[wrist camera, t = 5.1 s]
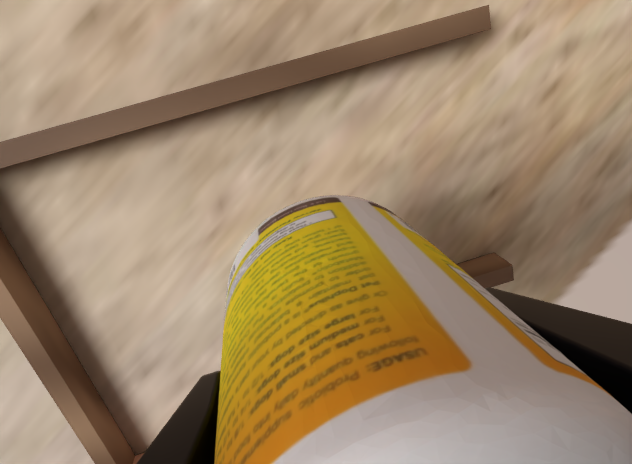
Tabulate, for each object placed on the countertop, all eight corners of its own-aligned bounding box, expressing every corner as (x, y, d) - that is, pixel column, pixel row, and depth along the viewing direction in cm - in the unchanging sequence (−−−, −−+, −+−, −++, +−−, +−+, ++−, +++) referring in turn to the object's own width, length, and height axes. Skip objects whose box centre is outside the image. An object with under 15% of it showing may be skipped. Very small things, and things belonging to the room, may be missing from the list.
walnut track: (505, 363, 23) (522, 382, 22) (136, 487, 22) (128, 514, 20) (467, 11, 16) (488, 5, 15) (-66, 161, 15) (-97, 169, 14)
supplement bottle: (209, 353, 12) (77, 1365, 3) (252, 167, 10) (337, 971, 1) (385, 376, 13) (739, 1102, 4) (447, 214, 12) (1298, 755, 2)
